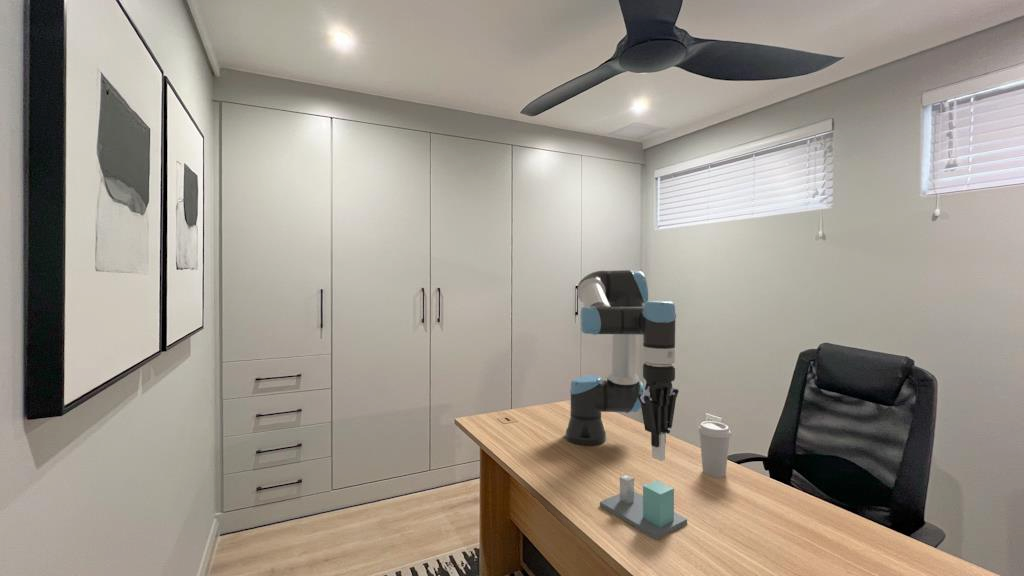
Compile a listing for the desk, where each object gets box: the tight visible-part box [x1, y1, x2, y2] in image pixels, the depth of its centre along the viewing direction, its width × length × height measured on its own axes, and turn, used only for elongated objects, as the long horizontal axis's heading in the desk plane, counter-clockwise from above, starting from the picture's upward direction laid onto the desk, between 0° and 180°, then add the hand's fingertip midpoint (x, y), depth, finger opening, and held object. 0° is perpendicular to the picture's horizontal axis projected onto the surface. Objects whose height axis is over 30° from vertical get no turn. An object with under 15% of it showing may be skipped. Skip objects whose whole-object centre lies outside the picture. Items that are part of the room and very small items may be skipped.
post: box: [619, 474, 635, 505], centre depth 114 cm, size 3×3×6 cm
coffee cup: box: [697, 420, 732, 478], centre depth 133 cm, size 10×10×15 cm
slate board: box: [599, 491, 688, 541], centre depth 110 cm, size 18×12×1 cm, turn 34°
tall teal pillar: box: [642, 480, 675, 527], centre depth 105 cm, size 5×5×8 cm
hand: (658, 458), depth 105 cm, fingers closed
